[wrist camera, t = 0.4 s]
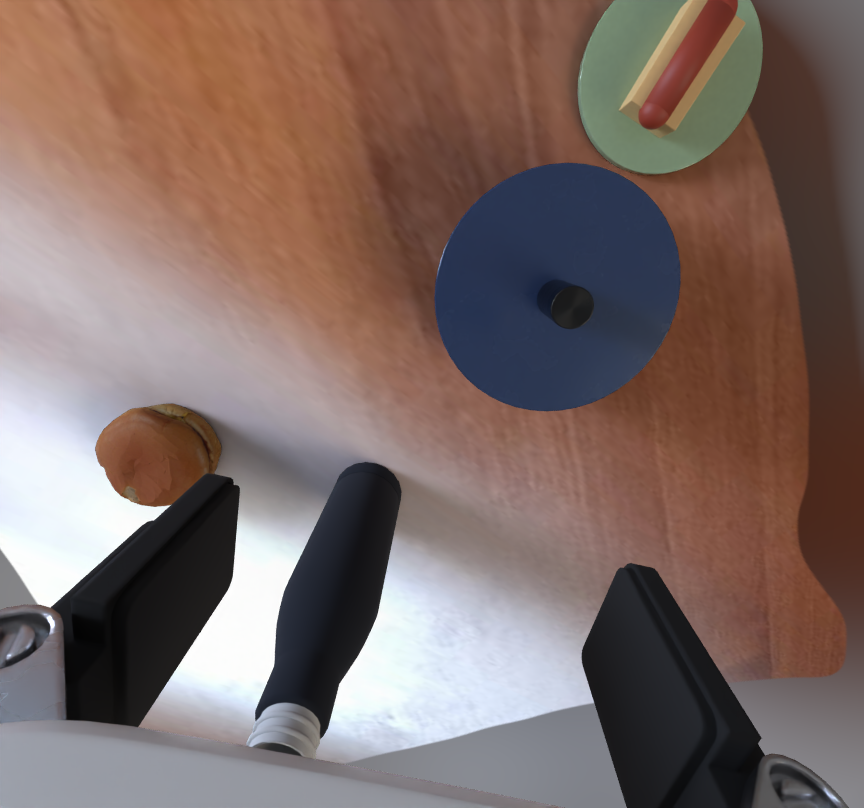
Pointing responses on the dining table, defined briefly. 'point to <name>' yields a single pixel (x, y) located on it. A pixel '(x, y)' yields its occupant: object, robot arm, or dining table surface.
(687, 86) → the hot dog
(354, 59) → the dining table surface
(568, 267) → the pot lid
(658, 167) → the plate
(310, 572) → the black bottle
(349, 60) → the dining table surface
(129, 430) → the burger
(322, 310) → the dining table surface
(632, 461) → the dining table surface
